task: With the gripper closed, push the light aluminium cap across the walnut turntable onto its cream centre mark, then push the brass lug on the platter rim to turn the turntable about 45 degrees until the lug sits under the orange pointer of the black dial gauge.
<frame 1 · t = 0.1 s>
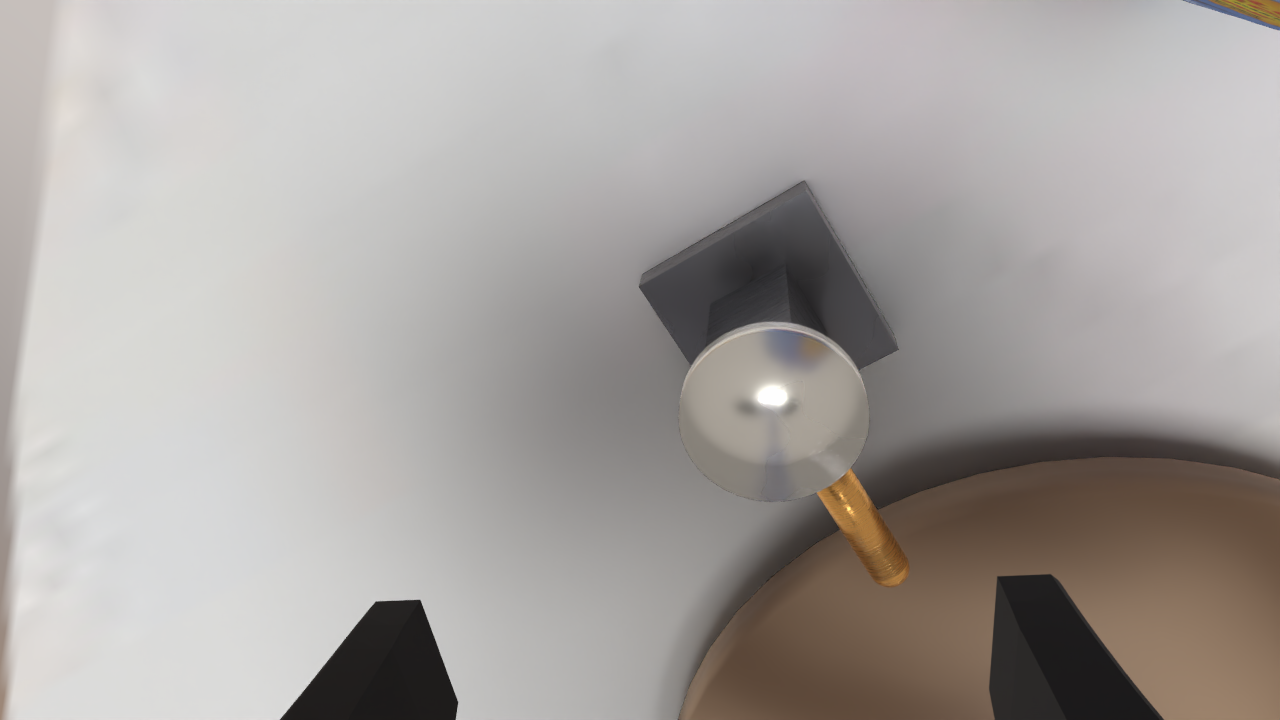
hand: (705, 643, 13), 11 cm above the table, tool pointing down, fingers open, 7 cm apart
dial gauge: (768, 304, 22), on the table
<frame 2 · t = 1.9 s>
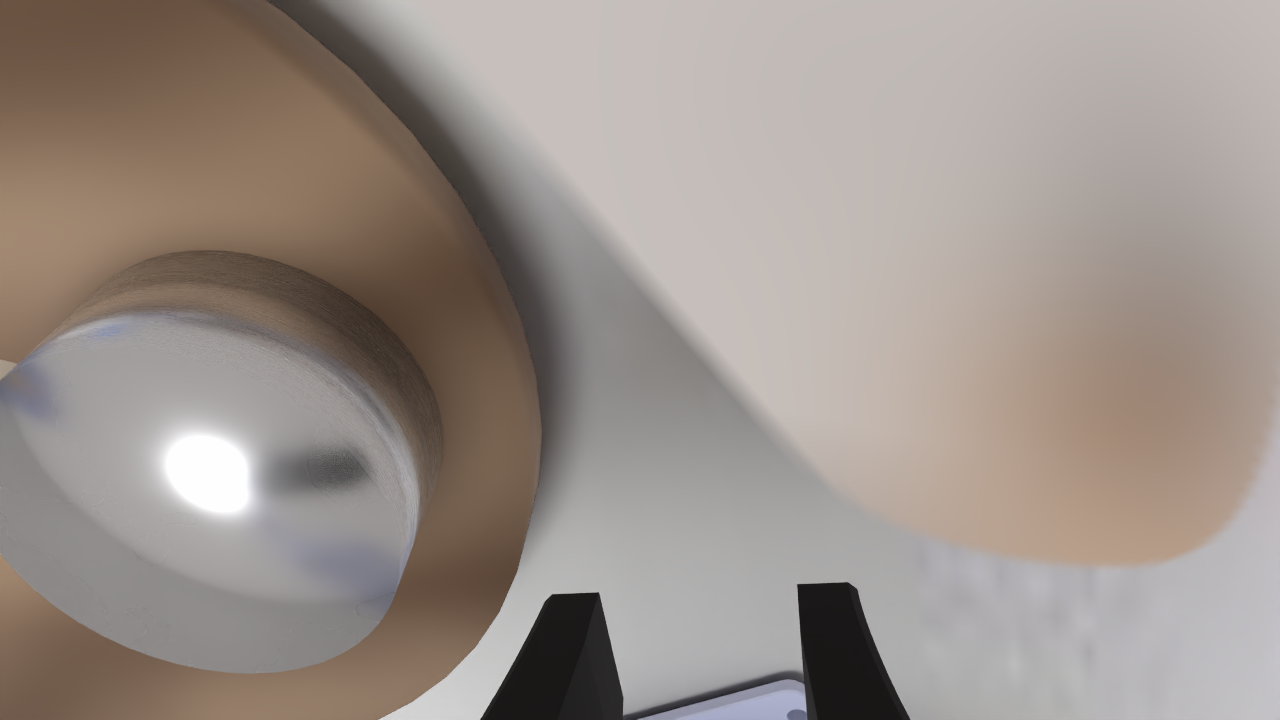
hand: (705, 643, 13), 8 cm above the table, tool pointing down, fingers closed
aluminium cap: (258, 418, 19), point 3 cm above the table, touching platter
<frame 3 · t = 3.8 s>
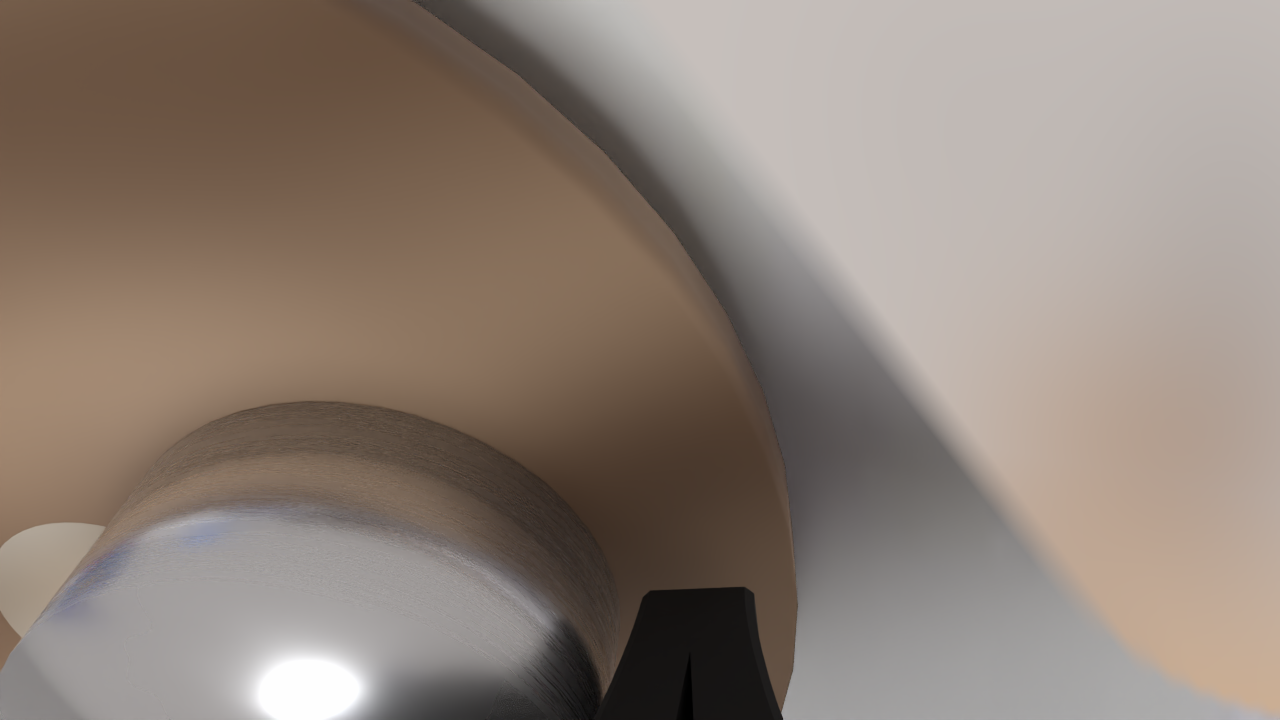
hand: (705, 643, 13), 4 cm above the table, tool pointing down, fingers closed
platter: (85, 655, 14), point 3 cm above the table, hinge at 0.0°
aluminium cap: (374, 602, 14), point 3 cm above the table, touching gripper
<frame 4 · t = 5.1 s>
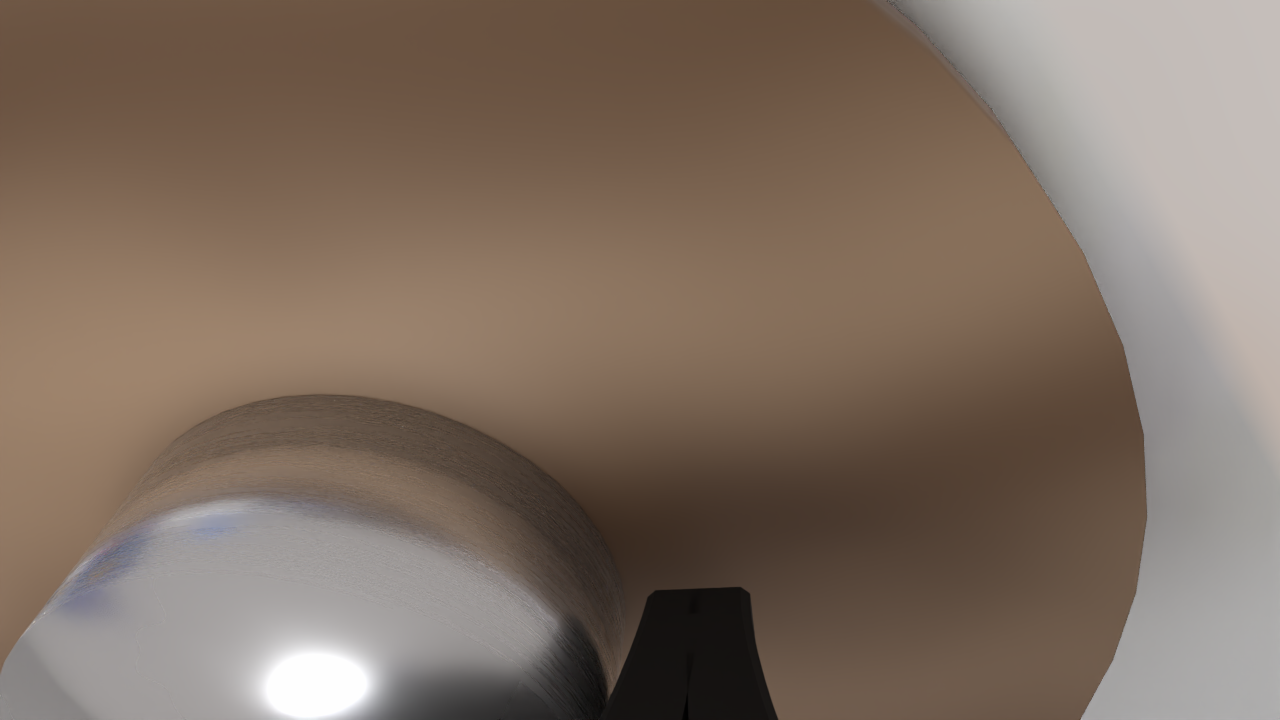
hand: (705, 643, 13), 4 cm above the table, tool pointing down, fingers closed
platter: (375, 643, 13), point 3 cm above the table, hinge at 0.0°, touching aluminium cap
aluminium cap: (378, 596, 14), point 3 cm above the table, touching gripper, platter
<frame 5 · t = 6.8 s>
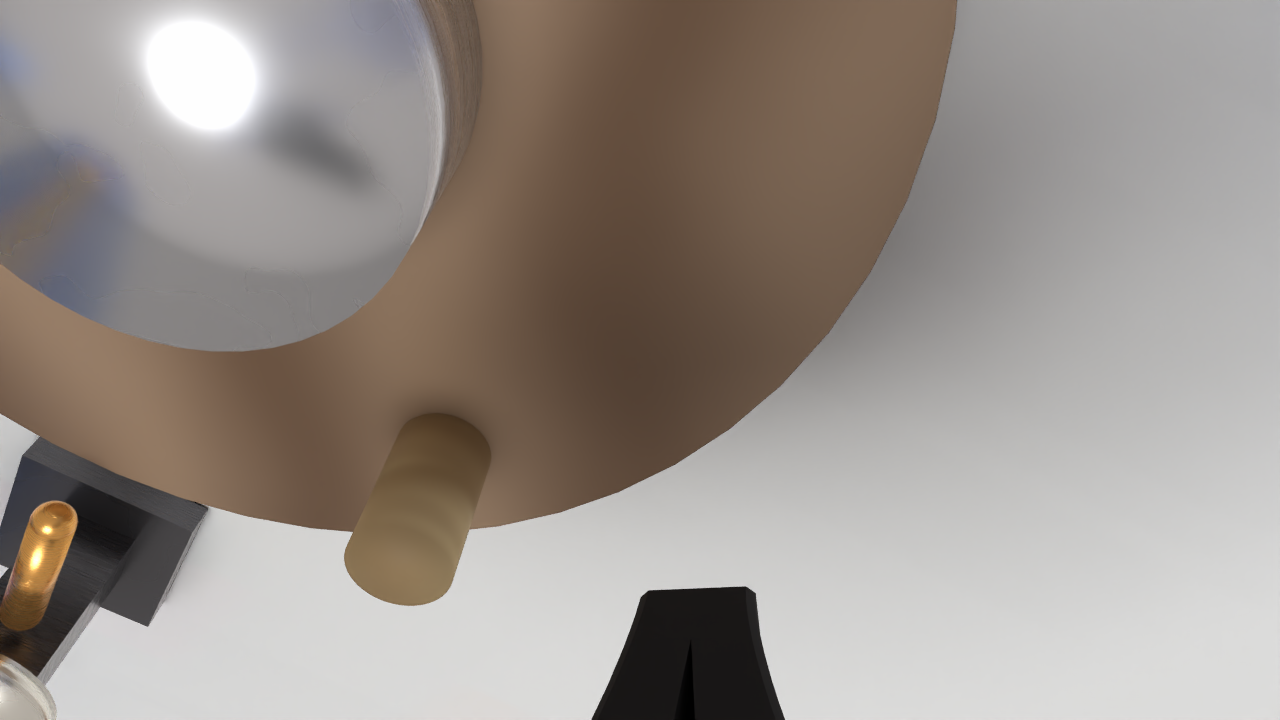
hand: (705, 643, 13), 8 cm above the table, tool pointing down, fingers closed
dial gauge: (106, 523, 24), on the table
platter: (233, 46, 14), point 3 cm above the table, hinge at 0.0°, touching aluminium cap
aluminium cap: (247, 41, 15), point 3 cm above the table, touching platter
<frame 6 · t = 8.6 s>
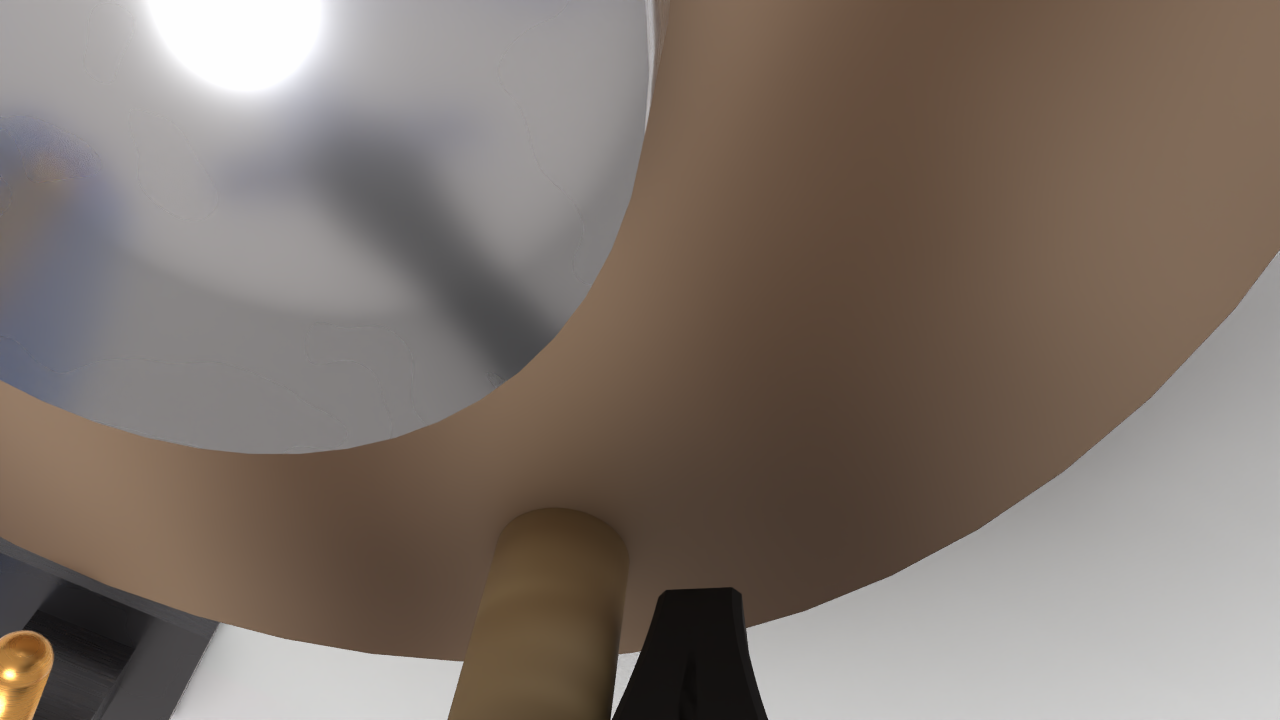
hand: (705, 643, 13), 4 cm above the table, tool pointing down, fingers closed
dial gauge: (99, 623, 19), on the table
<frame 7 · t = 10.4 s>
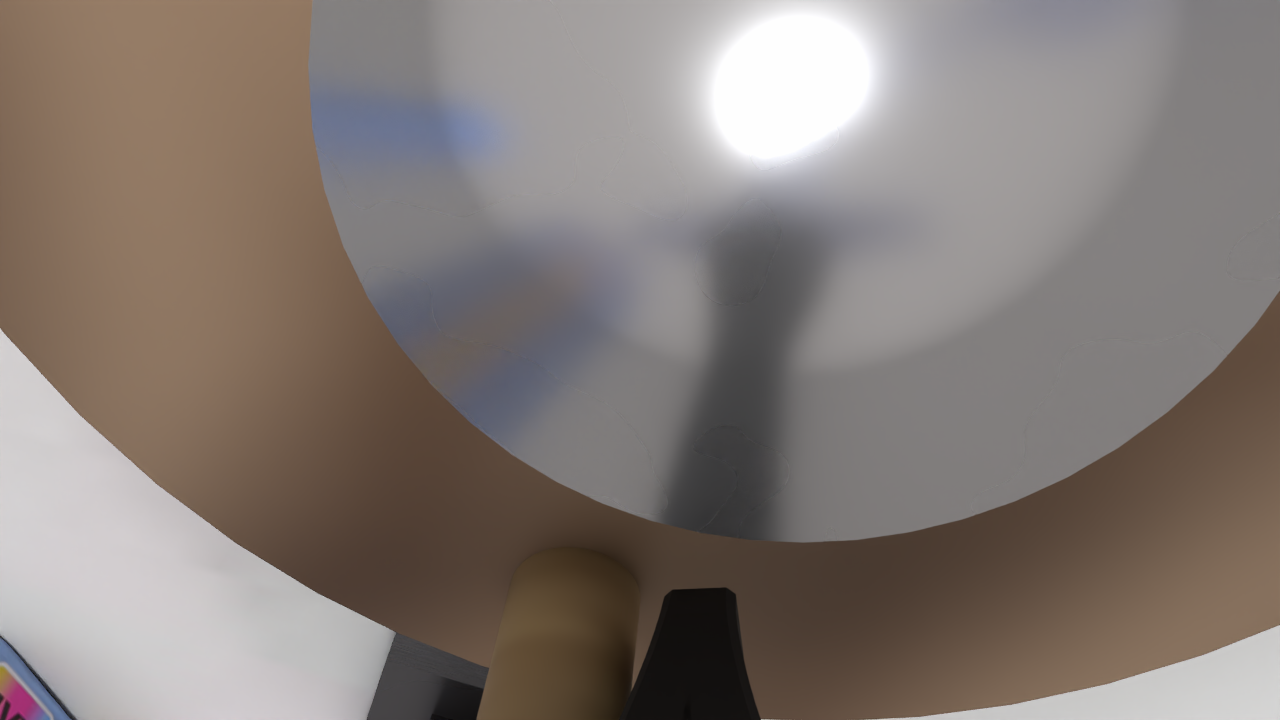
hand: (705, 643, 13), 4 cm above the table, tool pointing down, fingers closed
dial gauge: (475, 718, 20), on the table
platter: (820, 66, 9), point 3 cm above the table, hinge at -43.6°, touching aluminium cap, gripper
aluminium cap: (789, 45, 9), point 3 cm above the table, touching platter
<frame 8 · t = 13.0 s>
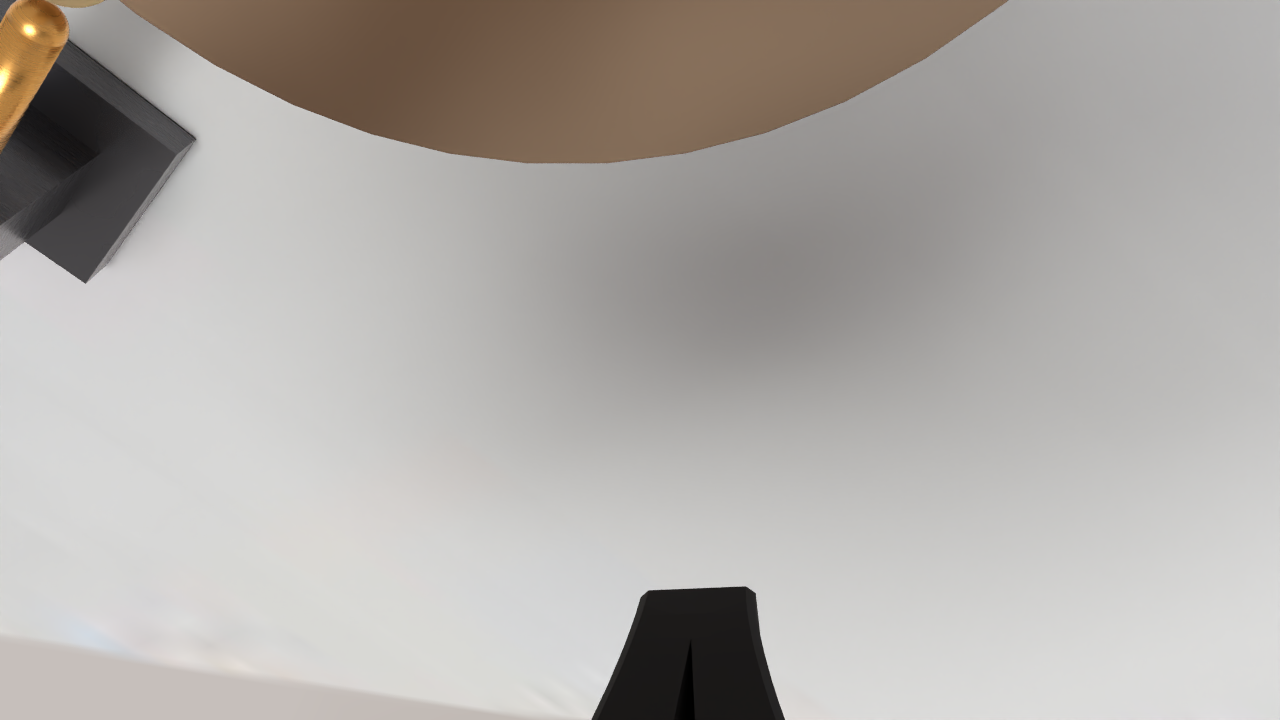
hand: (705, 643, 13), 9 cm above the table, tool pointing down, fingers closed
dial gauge: (59, 139, 20), on the table
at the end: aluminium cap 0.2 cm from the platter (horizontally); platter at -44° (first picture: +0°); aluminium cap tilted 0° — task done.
